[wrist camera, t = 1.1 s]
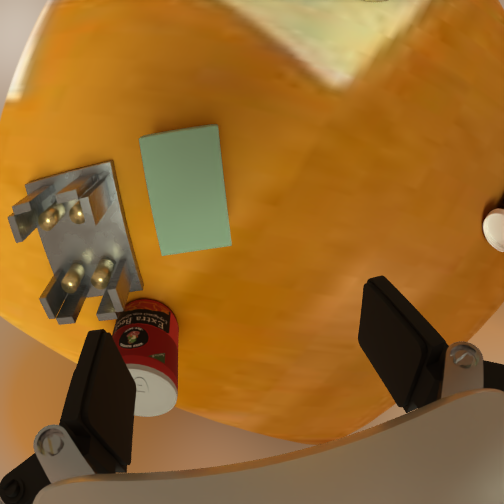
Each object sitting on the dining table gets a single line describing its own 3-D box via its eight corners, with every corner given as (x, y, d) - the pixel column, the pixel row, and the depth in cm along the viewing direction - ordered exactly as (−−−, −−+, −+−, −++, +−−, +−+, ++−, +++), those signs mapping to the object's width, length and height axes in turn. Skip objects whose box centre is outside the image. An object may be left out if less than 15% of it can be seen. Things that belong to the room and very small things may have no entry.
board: (143, 135, 23) (138, 138, 21) (216, 123, 24) (217, 125, 22) (164, 245, 28) (161, 255, 26) (229, 235, 28) (231, 245, 27)
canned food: (174, 294, 34) (169, 367, 25) (183, 345, 38) (184, 416, 29) (110, 298, 33) (88, 368, 24) (126, 348, 37) (114, 417, 28)
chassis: (29, 182, 26) (-3, 203, 20) (112, 160, 27) (91, 176, 21) (67, 295, 32) (49, 330, 27) (143, 285, 33) (135, 322, 28)
